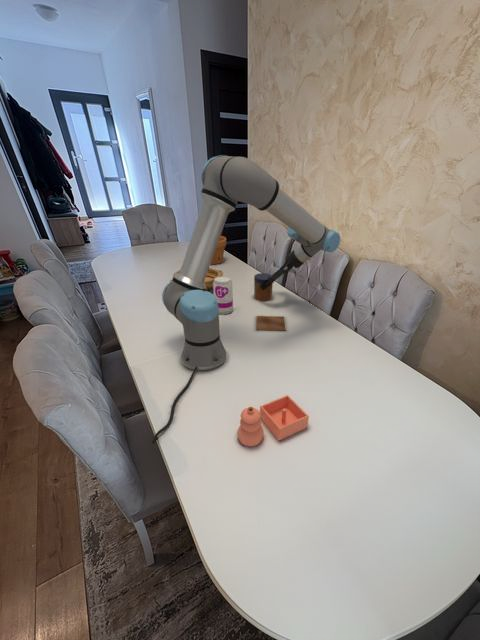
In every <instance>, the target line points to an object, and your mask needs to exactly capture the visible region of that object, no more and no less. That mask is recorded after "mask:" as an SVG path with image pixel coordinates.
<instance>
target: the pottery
mask: <svg viewBox="0 0 480 640" xmlns="http://www.w3.org/2000/svg"><path fill="white" fill-rule="evenodd" d="M309 418H310V416H309V414H308V413H306V411H304V409H302V408H301V407H300V405H299V404H297V402H295V400H293V398H291V397H290V395H289V394H287V395H284V396H282V397H279V398H277V399H274V400H272V401H270V402H266V403H264V404H262V405H260V406H259V409H257V408H255V407H253V406H248V407H246V408H244V409H243V410H242V411H241V413H240V420H239V426H238V428H237V437H238V440H239V442H240V444H242V445H243V446H245V447H251V448H252V447H255V446H257V445H259V444H261V442H262V440H263V437H264V428H263V426H262V422H263V423H264V424H265V426H266V427H267V428H268V430H269V431H270V432H271V433H272V434H273V435H274V437H275V438H276V439H277V440H278V441H279V442H280V441H282V440H283V439H286V438H289V437H290V436H292V435H294V434H296V433H299V432H300V431H303V430H305V429H307V428H308V425H309Z"/></svg>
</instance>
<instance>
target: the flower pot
mask: <svg viewBox="0 0 480 640" xmlns="http://www.w3.org/2000/svg"><path fill="white" fill-rule="evenodd" d="M226 247H227V238H226V236H224V235H220V238H219V241H218V244H217V246H216V249H215V252H214V255H213V258H212V260H211V263H210V266H211V265H218V264H221V263H222V262H223V261H224V260H223V259H224V253H225V248H226Z"/></svg>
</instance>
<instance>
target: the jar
mask: <svg viewBox="0 0 480 640" xmlns="http://www.w3.org/2000/svg"><path fill="white" fill-rule="evenodd" d="M253 281H254V280H253ZM262 284H263V283H258V282H256V281H254V283H253V292H254V293H253V298H254V300H256V301H258V302H259V301H260V302H268V301H271V300H272V299H273V284H274V283H272V284H271V285H270V286H268V287H267V288H266V289H265V290H262V288H261V287H260V285H262Z"/></svg>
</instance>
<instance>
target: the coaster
mask: <svg viewBox="0 0 480 640" xmlns="http://www.w3.org/2000/svg"><path fill="white" fill-rule="evenodd" d="M286 330H287V328H286V321H285V317H284V316H275V315H273V316H272V315H271V316H270V315H256V331H266V332H267V331H268V332H271V331H272V332H279V331H280V332H286Z"/></svg>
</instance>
